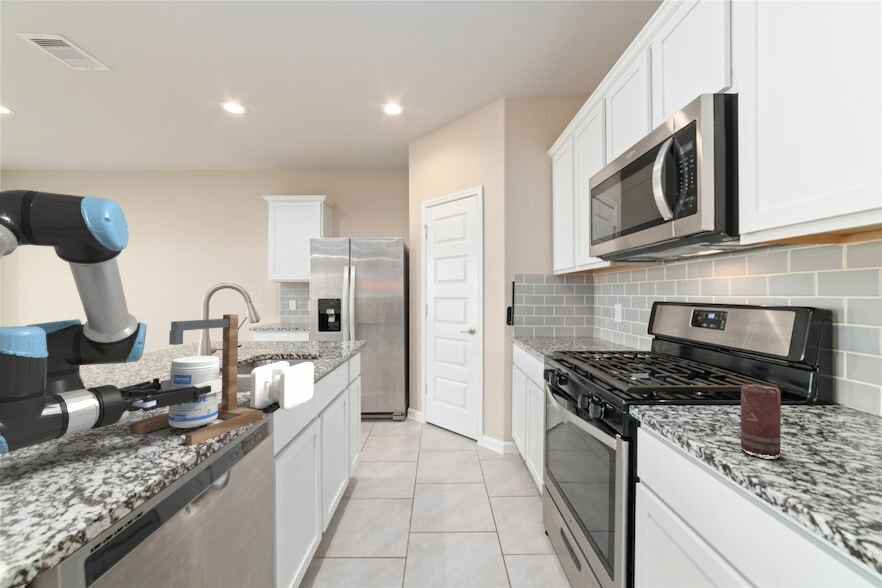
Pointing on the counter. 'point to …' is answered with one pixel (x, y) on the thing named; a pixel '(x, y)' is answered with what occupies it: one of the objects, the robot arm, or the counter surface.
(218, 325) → the hook arm
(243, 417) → the wooden hook stand
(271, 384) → the cable organizer
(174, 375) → the supplement tub
